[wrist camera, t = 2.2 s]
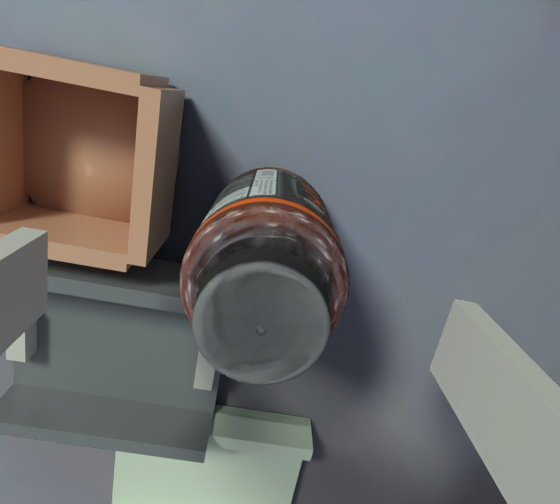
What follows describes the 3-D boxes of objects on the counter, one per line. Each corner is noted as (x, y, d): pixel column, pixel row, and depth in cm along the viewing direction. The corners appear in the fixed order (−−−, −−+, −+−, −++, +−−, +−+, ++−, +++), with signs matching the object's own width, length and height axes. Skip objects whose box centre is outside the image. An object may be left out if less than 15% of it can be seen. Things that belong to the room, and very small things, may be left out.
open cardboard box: (187, 81, 20) (162, 78, 16) (170, 239, 23) (144, 275, 19) (14, 46, 20) (-64, 33, 15) (17, 212, 23) (-48, 242, 18)
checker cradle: (237, 272, 24) (230, 306, 20) (214, 412, 27) (203, 463, 23) (21, 235, 23) (-29, 263, 19) (23, 383, 26) (-19, 431, 23)
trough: (310, 418, 27) (313, 450, 25) (281, 526, 31) (281, 564, 28) (124, 390, 26) (108, 420, 24) (115, 504, 30) (100, 541, 27)
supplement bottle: (345, 242, 23) (401, 369, 13) (248, 290, 24) (225, 445, 14) (293, 142, 21) (308, 191, 11) (191, 197, 22) (112, 292, 12)
